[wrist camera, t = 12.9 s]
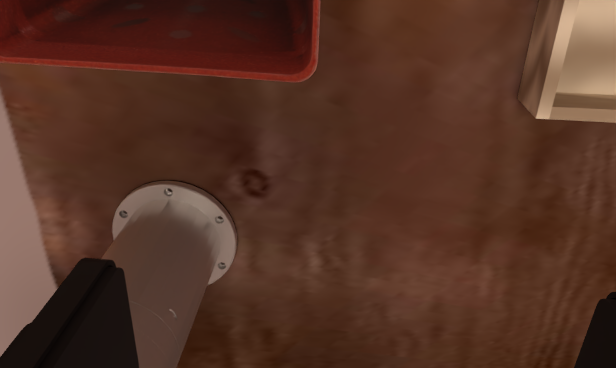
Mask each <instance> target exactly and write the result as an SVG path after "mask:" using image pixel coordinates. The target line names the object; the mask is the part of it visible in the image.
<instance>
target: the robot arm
mask: <svg viewBox="0 0 616 368" xmlns="http://www.w3.org/2000/svg"><path fill="white" fill-rule="evenodd" d="M170 189H171V190H170ZM220 216H221V217H220ZM112 234H113V240H114V241H113V242H112V244H111V245H110V247H109V248H108V249H107V251H106V252H105V254H104V255H103V256H102V258H101V259H92V258H83V259H81V260H80V261H79V262H78V263H77V265H76V266H75V267H74V269H73V270H72V271H71V272H70V274H69V275H68V276H67V278H66V279H65V280H64V281H63V283H62V284H61V285H60V287H59V288H58V289H57V290H56V292H55V293H54V295H53V296H52V297H51V298H50V300H49V301H48V302H47V303H46V305H45V306H44V307H43V309H42V310H41V311H40V312H39V314H38V315H37V316H36V318H35V319H34V320H33V322H32V323H30V324H27V325H26V326H25V327H24V328H23V330H21V331H20V333H19V334H18V335H17V337H16V338H15V339H14V340H13V342H12V343H11V344H10V345H9V347H8V348H7V349H6V351H5V352H4V353H3V354H2V356H1V357H0V368H177V365H178V362H179V359H180V356H181V354H182V351H183V349H184V346H185V343H186V341H187V338H188V335H189V333H190V330H191V327H192V325H193V322H194V319H195V317H196V314H197V311H198V309H199V306H200V303H201V301H202V298H203V295H204V293H205V290H206V287H207V285H210V284H212V283H214V282H215V281H217V280H218V279H220V278H221V277H222V276H223V275H224V274H225V273H226V272H227V271H228V269H229V267H230V266H231V264H232V262H233V259H234V257H235V254H236V249H237V233H236V229H235V225H234V223H233V221H232V219H231V217H230V215H229V213H228V212H227V211H226V209H225V208H224V207H223V205H222V204H221V203H220V202H218V201H217V200H216V199H215V198H214V197H213V196H211V195H210V194H208V193H207V192H205V191H204V190H202V189H200V188H197V187H195V186H193V185H190V184H186V183H182V182H177V181H156V182H152V183H148V184H144V185H142V186H140V187H138V188H136V189H135V190H133V191H132V192H131V193H130V194H128V195H127V196H126V197H125V199H124V200H123V201H122V202H121V203H120V205H119V207H118V208H117V210H116V212H115V215H114V218H113V222H112ZM574 368H616V292H612V293H610V294H609V295H608V296H607V298H606V299H601V300H600V301H599V302H598V304H597V306H596V309H595V312H594V314H593V317H592V320H591V323H590V325H589V328H588V331H587V334H586V336H585V339H584V342H583V345H582V347H581V350H580V353H579V356H578V359H577V361H576V364H575V367H574Z"/></svg>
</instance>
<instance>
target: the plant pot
mask: <svg viewBox="0 0 616 368" xmlns="http://www.w3.org/2000/svg"><path fill="white" fill-rule="evenodd" d="M319 24H320V0H0V63H11V64H30V65H46V66H61V67H76V68H93V69H107V70H126V71H140V72H158V73H174V74H189V75H204V76H217V77H228V78H242V79H256V80H268V81H281V82H301V81H305V80H307V79H308V78H309V77H311V76H312V75H313V73H314V72H315V70H316V68H317V63H318V50H319Z"/></svg>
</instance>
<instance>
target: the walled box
mask: <svg viewBox="0 0 616 368" xmlns="http://www.w3.org/2000/svg"><path fill="white" fill-rule="evenodd" d="M517 99H518V100H519V101H520V102H521V103H522V104H523V105H524V106H525V107H526V108H527V110H528V111H529V112H530V113H531V114H532V115H533V116H534V117H535V118H536V119H556V120H576V121H596V122H616V0H539V2H538V6H537V11H536V15H535V20H534V24H533V29H532V34H531V38H530V43H529V47H528V52H527V56H526V61H525V65H524V70H523V74H522V79H521V83H520V88H519V92H518V97H517Z"/></svg>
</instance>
